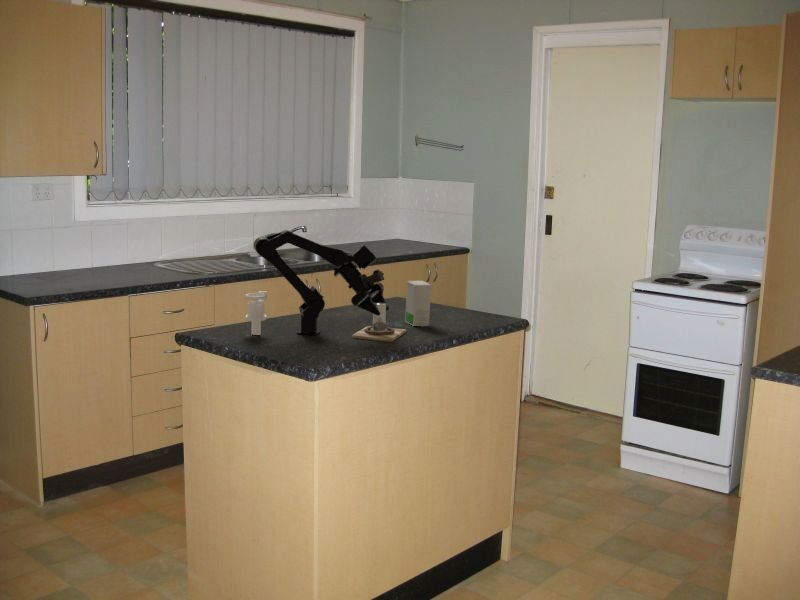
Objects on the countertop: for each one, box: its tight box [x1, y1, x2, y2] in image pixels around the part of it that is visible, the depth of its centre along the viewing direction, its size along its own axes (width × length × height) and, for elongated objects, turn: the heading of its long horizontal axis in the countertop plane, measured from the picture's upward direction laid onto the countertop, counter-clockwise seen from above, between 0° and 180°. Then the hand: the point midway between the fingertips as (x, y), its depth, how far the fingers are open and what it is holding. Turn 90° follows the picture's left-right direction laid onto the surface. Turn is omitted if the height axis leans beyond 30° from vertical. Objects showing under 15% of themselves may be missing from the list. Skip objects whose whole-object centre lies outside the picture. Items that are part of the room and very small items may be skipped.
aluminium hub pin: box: [370, 302, 388, 332], centre depth 307 cm, size 6×6×10 cm
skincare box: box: [404, 280, 433, 327], centre depth 326 cm, size 8×7×16 cm
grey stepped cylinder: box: [244, 290, 268, 336], centre depth 302 cm, size 7×7×15 cm
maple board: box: [351, 325, 407, 343], centre depth 308 cm, size 16×14×2 cm
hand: (383, 312), depth 306 cm, fingers open, 9 cm apart
